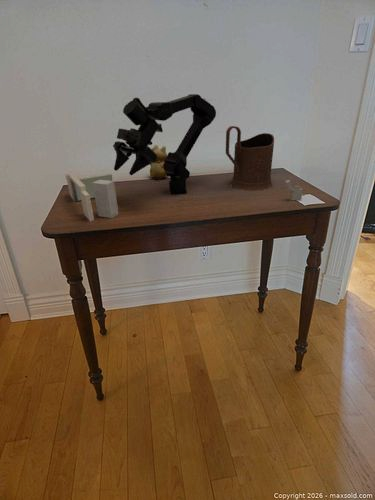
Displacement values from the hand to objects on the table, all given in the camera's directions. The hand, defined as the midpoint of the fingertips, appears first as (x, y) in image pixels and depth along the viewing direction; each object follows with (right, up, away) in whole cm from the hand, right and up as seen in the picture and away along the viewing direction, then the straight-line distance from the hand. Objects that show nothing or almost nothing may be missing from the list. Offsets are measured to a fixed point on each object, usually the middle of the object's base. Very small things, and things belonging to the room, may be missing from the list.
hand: (122, 172), depth 107 cm
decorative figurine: (+9, +7, +41) cm, 43 cm away
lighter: (+62, -8, +10) cm, 63 cm away
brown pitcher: (+48, +1, +28) cm, 56 cm away
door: (-15, -5, +18) cm, 24 cm away
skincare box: (-5, -15, +2) cm, 16 cm away
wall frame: (-18, -11, +10) cm, 23 cm away
